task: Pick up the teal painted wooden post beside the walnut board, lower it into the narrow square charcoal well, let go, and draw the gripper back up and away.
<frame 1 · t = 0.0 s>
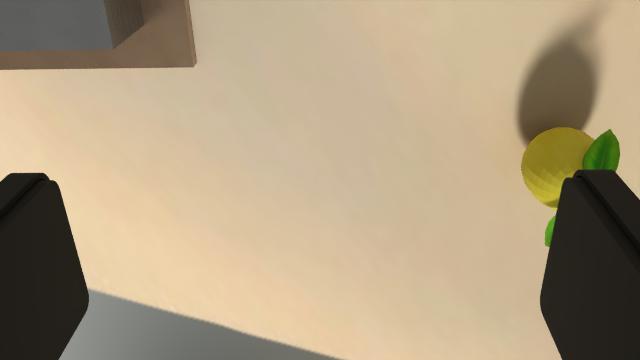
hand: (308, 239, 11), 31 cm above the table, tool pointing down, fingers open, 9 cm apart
lemon: (547, 147, 44), on the table
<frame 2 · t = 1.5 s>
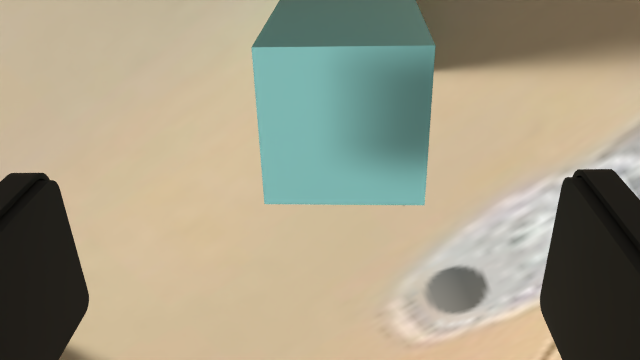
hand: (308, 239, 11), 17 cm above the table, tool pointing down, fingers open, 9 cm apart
teal post: (349, 25, 26), on the table
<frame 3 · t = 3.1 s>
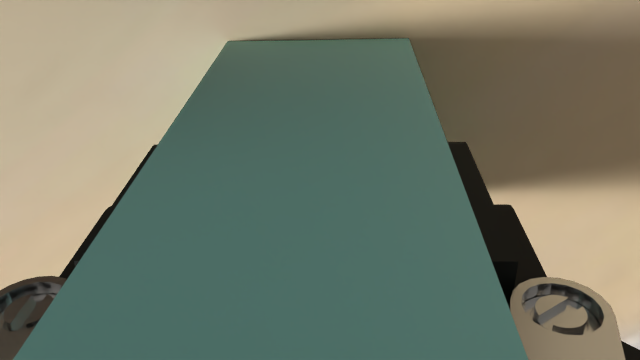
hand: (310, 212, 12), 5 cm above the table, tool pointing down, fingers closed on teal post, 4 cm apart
teal post: (319, 123, 16), on the table, touching gripper
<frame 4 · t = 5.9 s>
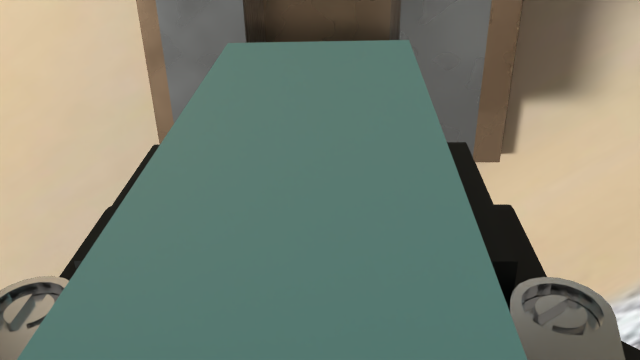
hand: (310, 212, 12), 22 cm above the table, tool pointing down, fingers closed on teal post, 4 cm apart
teal post: (320, 125, 16), point 17 cm above the table, touching gripper
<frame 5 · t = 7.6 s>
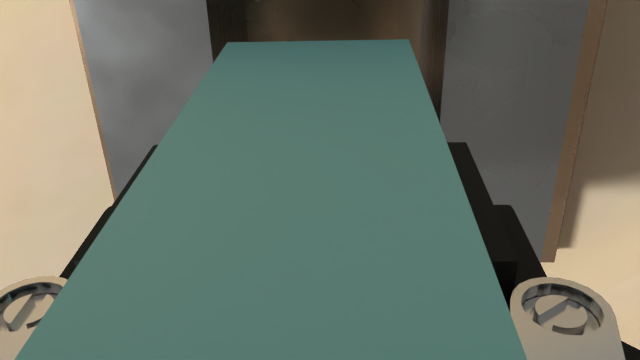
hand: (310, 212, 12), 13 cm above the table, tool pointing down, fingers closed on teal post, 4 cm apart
teal post: (319, 124, 16), point 9 cm above the table, touching gripper
well: (334, 44, 23), on the table
when the fingers open (8 cm above the table, at t = 9.0 s): teal post drops 2 cm, resting on well.
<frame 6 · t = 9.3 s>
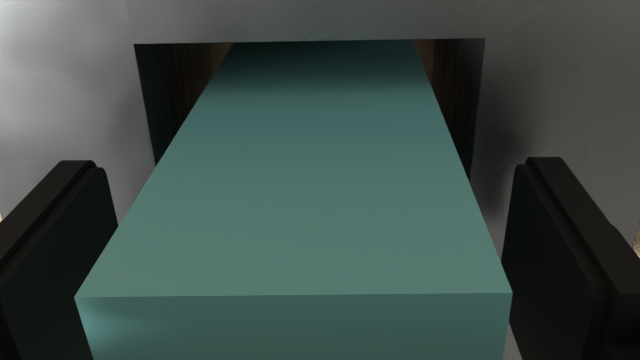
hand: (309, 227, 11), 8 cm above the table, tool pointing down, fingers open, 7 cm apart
teal post: (327, 98, 18), point 1 cm above the table, touching well
well: (323, 85, 19), on the table
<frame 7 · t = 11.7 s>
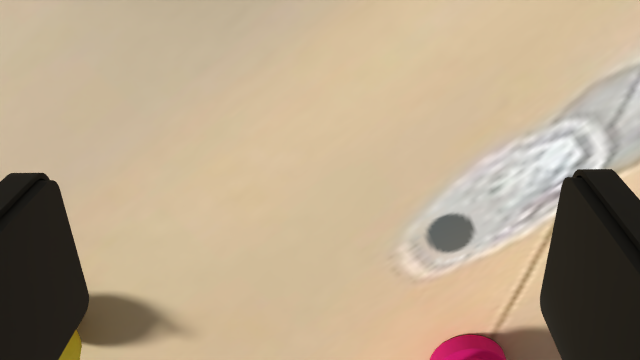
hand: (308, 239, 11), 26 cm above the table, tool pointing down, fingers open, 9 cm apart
pepper mill: (465, 359, 48), on the table
lemon: (58, 321, 47), on the table
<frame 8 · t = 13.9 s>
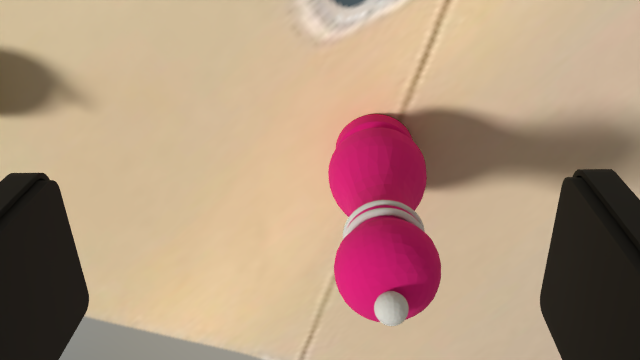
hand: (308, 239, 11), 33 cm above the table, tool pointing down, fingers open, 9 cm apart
pepper mill: (374, 148, 47), on the table
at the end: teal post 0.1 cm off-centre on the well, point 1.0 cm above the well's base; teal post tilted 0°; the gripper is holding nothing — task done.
